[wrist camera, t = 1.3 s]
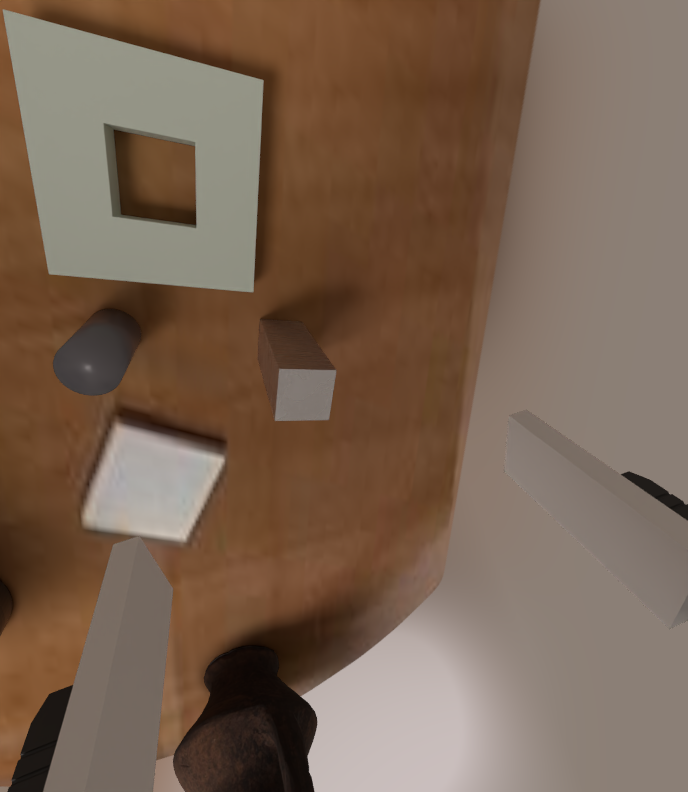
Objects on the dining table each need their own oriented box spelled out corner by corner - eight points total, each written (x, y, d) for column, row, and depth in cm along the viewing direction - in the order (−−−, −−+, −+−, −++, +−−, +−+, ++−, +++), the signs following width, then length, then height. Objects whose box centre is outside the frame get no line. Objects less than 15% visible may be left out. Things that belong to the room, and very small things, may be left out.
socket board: (63, 267, 29) (48, 274, 27) (25, 29, 23) (2, 9, 21) (250, 285, 34) (253, 292, 31) (258, 90, 28) (263, 80, 25)
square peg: (257, 358, 37) (274, 420, 27) (259, 318, 35) (279, 368, 25) (297, 360, 38) (328, 419, 28) (301, 321, 37) (336, 370, 27)
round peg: (90, 353, 32) (58, 395, 26) (83, 306, 31) (47, 338, 24) (142, 355, 34) (125, 395, 27) (139, 310, 32) (120, 341, 25)
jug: (271, 701, 66) (309, 1019, 40) (159, 706, 57) (118, 1114, 32) (329, 620, 60) (416, 931, 35) (215, 612, 51) (218, 1017, 26)
